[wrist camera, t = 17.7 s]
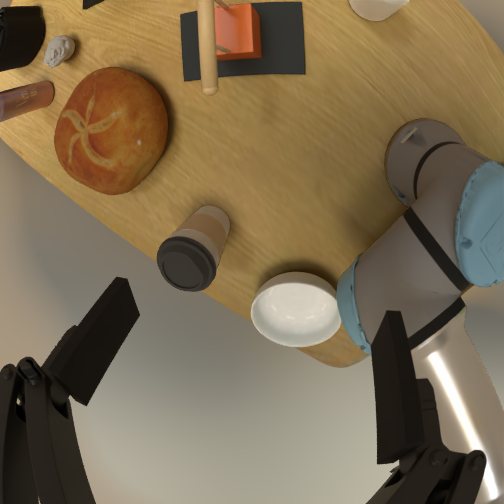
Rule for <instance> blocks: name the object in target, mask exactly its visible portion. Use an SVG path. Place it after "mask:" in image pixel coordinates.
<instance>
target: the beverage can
mask: <svg viewBox="0 0 504 504" xmlns="http://www.w3.org/2000/svg"><path fill="white" fill-rule="evenodd" d="M53 96H54V88H53V85H52V84H51V83H50V82H48V81H43V82H38V83H33V84H29V85H25V86H20V87H17V88H13V89H9V90H5V91H2V92H0V122H2V121H5V120H7V119H10V118H13V117H16V116H18V115H21V114H24V113H27V112H30V111H34V110H37V109H40V108H43V107H46V106H48V105H49V104H50V103H51V101H52V99H53Z"/></svg>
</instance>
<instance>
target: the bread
mask: <svg viewBox="0 0 504 504" xmlns="http://www.w3.org/2000/svg"><path fill="white" fill-rule="evenodd" d="M167 132H168V118H167V113H166V108H165V105H164V103H163V100H162V98H161V97H160V95H159V93H158V92H157V91H156V90H155V88H154V87H153V86H152V85H151V84H150V83H148V82H147V81H146V80H145V79H143V78H142V77H140V76H139V75H137V74H135V73H133V72H131V71H129V70H126V69H122V68H118V67H108V68H102V69H99V70H96V71H94V72H92V73H91V74H89V75H88V76H86V77H85V78H84V79H83V80H82V81H81V82H80V83H79V84H78V85H77V87H76V88H75V89H74V91H73V93H72V95H71V96H70V98H69V100H68V102H67V103H66V105H65V107H64V108H63V110H62V112H61V114H60V117H59V119H58V122H57V126H56V130H55V135H54V145H55V150H56V153H57V156H58V160H59V162H60V164H61V165H62V167H63V168H64V170H65V171H66V172H67V173H68V174H69V175H70V176H71V177H72V178H73V179H75V180H76V181H78V182H80V183H81V184H83V185H85V186H87V187H89V188H91V189H93V190H95V191H98V192H100V193H103V194H107V195H118V194H123V193H126V192H129V191H130V190H132V189H133V188H135V187H136V186H137V185H138V184H139V183H140V182H141V181H142V180H143V179H144V178H145V177H146V176H147V174H148V173H149V172H150V171H151V169H152V168H153V167H154V165H155V164H156V163H157V161H158V160H159V158H160V156H161V155H162V153H163V150H164V147H165V144H166V140H167Z"/></svg>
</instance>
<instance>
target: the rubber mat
mask: <svg viewBox="0 0 504 504" xmlns="http://www.w3.org/2000/svg"><path fill="white" fill-rule="evenodd" d="M251 5H252V6H253V7H254V9H255V10H256V12H257V13H258V15H259V16H260V32H261V52H262V58H249V59H235V60H225V61H220V60H217V70H218V77H225V76H238V75H256V74H305V54H304V33H303V16H302V2H264V3H251ZM180 18H181V41H182V59H183V73H184V81H191V80H199V79H201V69H200V53H199V35H198V12H197V11H194V12H189V13H184V14H180Z"/></svg>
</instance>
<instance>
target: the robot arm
mask: <svg viewBox="0 0 504 504" xmlns="http://www.w3.org/2000/svg"><path fill="white" fill-rule="evenodd" d="M384 164H385V174H386V178H387V181H388V184H389V186H390V188H391V189H392V191H393V193H394V194H395V195H396V197H397V198H398V199H399V200H400V201H401V202H402V203H403V204H404V205H406V206H407V207H409V208H408V210H407V211H406V212H405V213H403V214H402V215H401V216H400V217H399V218H398V219H397V220H396V221H395V222H394V223H393V225H392V226H391V227H390V228H389V229H388V230H387V231H386V232H385V233H384V234H383V235H382V236H381V237H379V238H378V239H377V240H376V241H375V242H374V243H373V244H372V245H371V246H370V247H369V248H368V249H367V250H366V251H365V252H364V253H361V254H360V255H359V256H358V257H357V258H356V259H355V261H354V263H353V264H352V265H351V266H350V267H349V268H348V269H347V270H346V271H345V272H344V273H343V274H342V275H341V277H340V279H339V281H338V285H337V292H336V301H337V307H338V312H339V315H340V318H341V321H342V323H343V325H344V328H345V330H346V331H347V333H348V335H349V336H350V338H351V339H352V341H353V342H354V343H355V344H356V345H357V346H360V347H361V350H362V351H364V352H365V353H367V354H371V355H372V365H373V375H374V386H375V401H376V421H377V464H388V463H394V462H396V461H397V460H399V466H397V467H395V468H393V469H392V470H391V471H390V472H391V473H392V472H393V473H392V475H391V476H390V477H389V478H388V480H387V481H386V482H385V483H384V484H383V486H382V487H381V488H380V489H379V490H378V491H377V492H376V494H375V495H374V496H373V497H372V498H371V499H370V500H369V501H368V502H367V503H366V504H504V411H503V408H502V405H501V403H500V400H499V398H498V395H497V393H496V391H495V388H494V386H493V384H492V382H491V379H490V377H489V375H488V373H487V370H486V368H485V366H484V364H483V362H482V360H481V358H480V356H479V354H478V352H477V350H476V348H475V347H474V344H473V343H472V341H471V339H470V337H469V335H468V334H467V332H466V330H465V327H464V321H465V316H466V310H467V307H466V305H465V303H464V302H463V300H462V298H461V297H460V293H461V292H462V291H463V290H464V289H466V288H467V287H468V286H469V285H470V284H471V283H472V284H474V285H476V286H479V287H490V286H491V285H492V284H493V282H494V283H495V284H498V283H500V282H502V281H503V280H504V165H503V164H500V163H499V162H495V161H493V160H491V159H489V158H488V157H486V156H484V155H482V154H480V153H478V152H476V151H474V150H473V149H471V148H469V147H467V146H466V145H465V143H464V142H463V141H462V139H461V138H460V136H459V135H458V134H457V133H456V132H455V131H454V130H453V129H452V128H451V127H449V126H448V125H446V124H444V123H442V122H439V121H436V120H433V119H425V118H424V119H416V120H413V121H410V122H408V123H406V124H405V125H403V126H402V127H401V128H400V129H398V130H397V132H396V133H395V134H394V135H393V137H392V138H391V140H390V142H389V144H388V147H387V150H386V154H385V163H384ZM139 316H140V314H139V311H138V308H137V306H136V303H135V300H134V297H133V294H132V291H131V288H130V286H129V282H128V279H126V278H121V277H116V278H115V279H114V280H113V282H112V283H111V284H110V285H109V286H108V288H107V289H106V290H105V291H104V293H103V294H102V295H101V296H100V298H99V299H98V300H97V301H96V303H95V304H94V305H93V307H92V308H91V309H90V311H89V312H88V313H87V314H86V316H85V317H84V318H83V320H82V321H81V322H80V324H79V325H78V326H76V325H74V326H73V327H71V328H70V329H69V330H67V331H66V333H65V334H64V335H63V337H62V339H61V340H60V341H59V342H58V344H57V346H55V348H54V349H53V351H52V352H51V354H50V355H49V356H48V358H47V359H46V361H45V363H44V364H43V365H42V366H41V367H40V366H39V365H38V364H37V363H36V361H35V360H34V359H33V358H32V357H25V358H23V359H21V360H20V361H19V363H18V364H17V366H16V367H15V366H14V365H13V364H7V365H6V366H4V367H3V368H2V370H1V372H0V504H39V502H38V501H39V500H40V503H41V504H96V502H95V500H94V497H93V494H92V491H91V488H90V485H89V482H88V479H87V476H86V472H85V469H84V465H83V462H82V458H81V454H80V450H79V446H78V442H77V437H76V432H75V427H74V422H73V416H72V410H71V404H70V401H69V399H68V397H69V396H70V395H71V396H72V397H73V399H75V401H77V402H79V403H81V404H83V405H85V406H87V405H88V403H89V401H90V399H91V397H92V395H93V394H94V392H95V390H96V388H97V386H98V385H99V383H100V381H101V379H102V378H103V376H104V374H105V372H106V370H107V369H108V367H109V365H110V364H111V362H112V360H113V359H114V357H115V355H116V353H117V352H118V350H119V348H120V347H121V345H122V343H123V342H124V340H125V338H126V337H127V335H128V333H129V332H130V330H131V328H132V327H133V325H134V324H135V322H136V321H137V319H138V317H139ZM17 398H18V399H19V400H20V404H19V405H18V404H17ZM38 496H39V500H38Z"/></svg>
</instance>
